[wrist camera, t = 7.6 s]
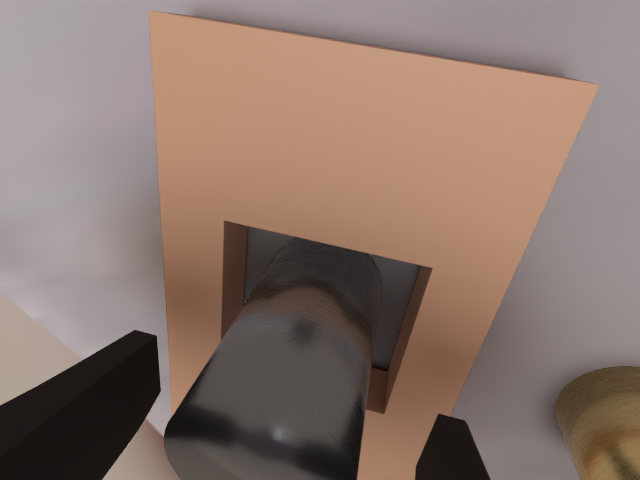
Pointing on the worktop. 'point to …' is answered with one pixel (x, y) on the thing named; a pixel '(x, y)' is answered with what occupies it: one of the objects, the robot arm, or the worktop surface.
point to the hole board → (352, 192)
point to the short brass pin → (603, 423)
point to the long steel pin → (286, 375)
